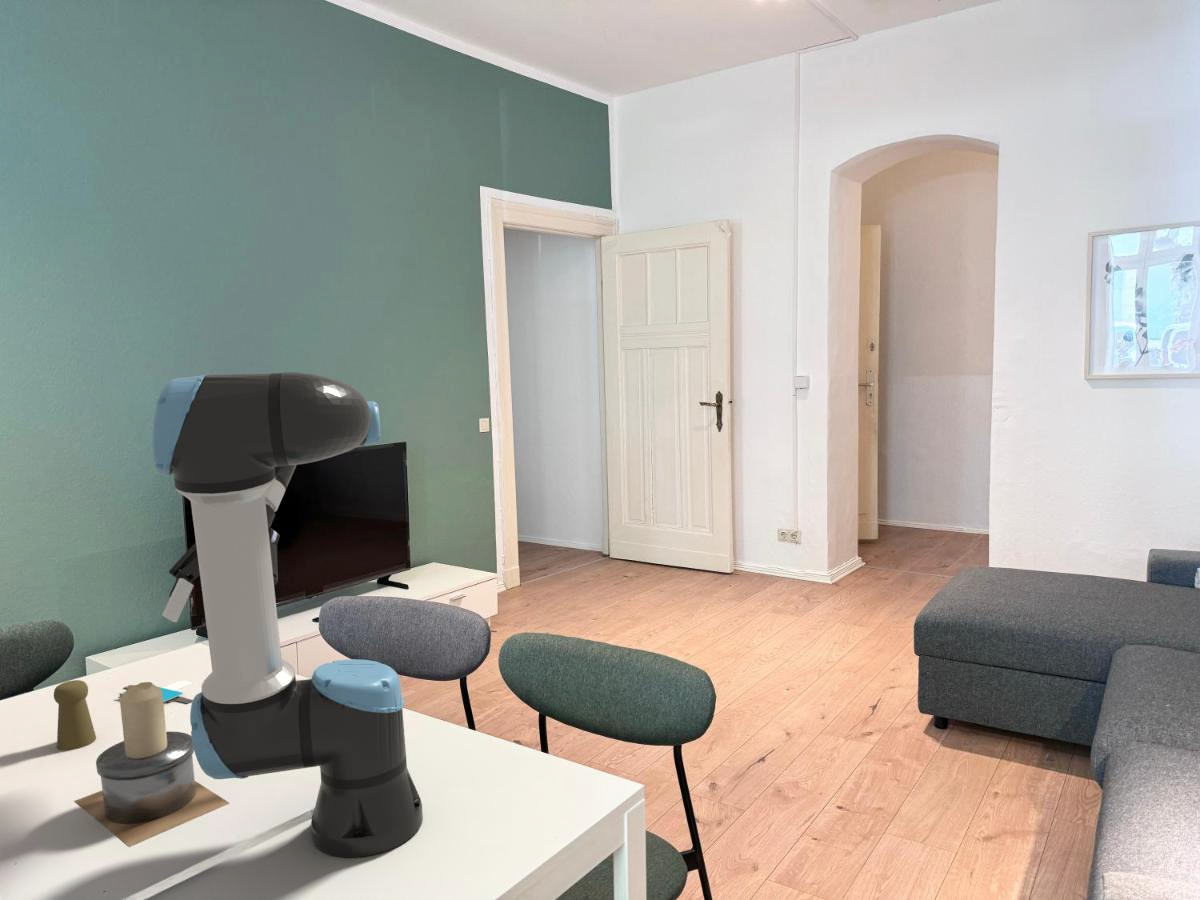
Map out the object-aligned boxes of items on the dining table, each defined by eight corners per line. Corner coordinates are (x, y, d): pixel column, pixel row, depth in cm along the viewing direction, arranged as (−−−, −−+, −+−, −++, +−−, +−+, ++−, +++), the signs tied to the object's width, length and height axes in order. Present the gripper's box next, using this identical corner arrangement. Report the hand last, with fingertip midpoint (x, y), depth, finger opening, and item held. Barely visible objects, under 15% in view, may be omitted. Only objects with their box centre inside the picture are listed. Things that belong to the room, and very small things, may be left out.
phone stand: (220, 692, 175) (219, 684, 175) (166, 715, 165) (165, 706, 164) (156, 678, 184) (156, 670, 184) (102, 698, 174) (101, 690, 174)
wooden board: (230, 812, 127) (229, 802, 127) (130, 857, 117) (129, 846, 116) (170, 773, 140) (169, 764, 140) (75, 810, 129) (74, 800, 129)
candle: (149, 760, 124) (143, 693, 123) (116, 758, 125) (109, 691, 124) (176, 743, 129) (169, 678, 128) (144, 741, 130) (137, 677, 129)
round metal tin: (214, 797, 129) (209, 746, 128) (123, 835, 119) (117, 780, 118) (175, 772, 137) (171, 724, 136) (87, 806, 127) (81, 755, 126)
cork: (67, 753, 149) (60, 692, 148) (49, 745, 152) (42, 685, 151) (103, 739, 154) (96, 679, 153) (85, 732, 157) (78, 674, 156)
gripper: (327, 517, 147) (280, 635, 135) (210, 514, 155) (158, 625, 144) (302, 494, 141) (252, 616, 130) (183, 493, 149) (126, 607, 138)
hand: (202, 621), depth 137 cm, fingers open, 13 cm apart
